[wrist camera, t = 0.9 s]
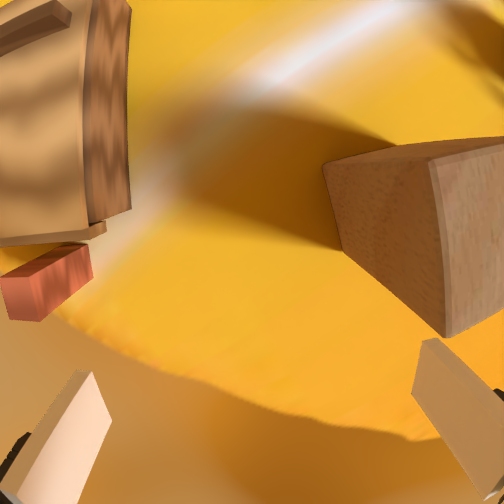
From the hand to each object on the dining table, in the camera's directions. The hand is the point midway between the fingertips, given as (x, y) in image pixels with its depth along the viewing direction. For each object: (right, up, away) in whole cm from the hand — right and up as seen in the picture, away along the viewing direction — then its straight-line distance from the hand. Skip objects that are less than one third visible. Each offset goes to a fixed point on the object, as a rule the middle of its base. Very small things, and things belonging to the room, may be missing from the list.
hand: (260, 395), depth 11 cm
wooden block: (+13, +11, +22) cm, 28 cm away
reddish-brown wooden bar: (-21, +4, +22) cm, 31 cm away
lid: (-21, +19, +12) cm, 31 cm away
